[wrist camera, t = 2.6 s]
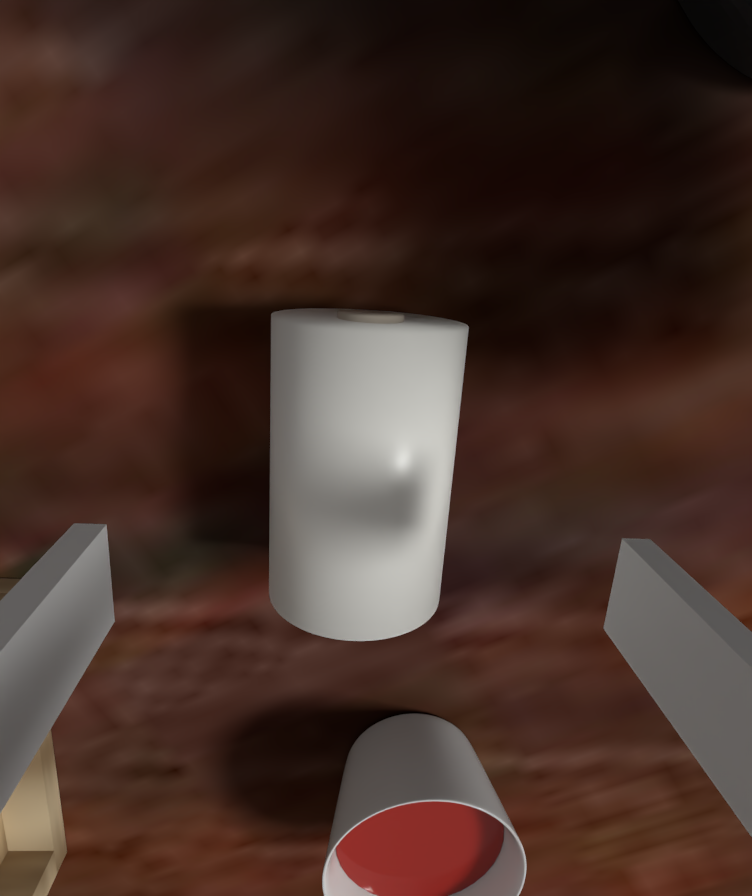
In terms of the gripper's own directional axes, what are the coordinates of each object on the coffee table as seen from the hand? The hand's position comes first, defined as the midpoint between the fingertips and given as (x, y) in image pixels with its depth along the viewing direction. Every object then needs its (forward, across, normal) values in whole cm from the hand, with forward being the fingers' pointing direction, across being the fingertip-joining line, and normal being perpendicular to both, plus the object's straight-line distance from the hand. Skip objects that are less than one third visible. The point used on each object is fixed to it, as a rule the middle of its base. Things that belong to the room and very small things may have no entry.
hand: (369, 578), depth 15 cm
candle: (+12, +4, -18) cm, 22 cm away
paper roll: (+8, 0, 0) cm, 8 cm away
